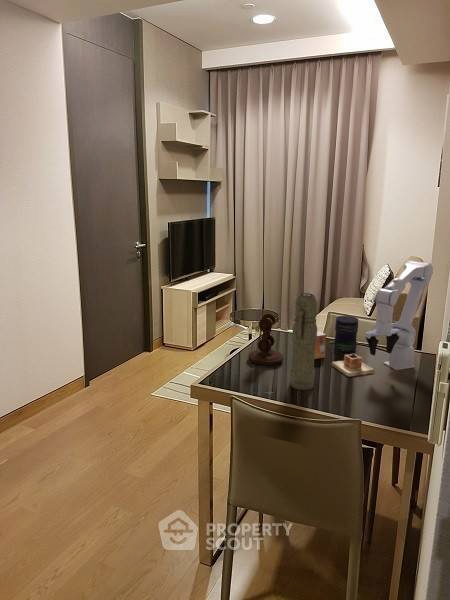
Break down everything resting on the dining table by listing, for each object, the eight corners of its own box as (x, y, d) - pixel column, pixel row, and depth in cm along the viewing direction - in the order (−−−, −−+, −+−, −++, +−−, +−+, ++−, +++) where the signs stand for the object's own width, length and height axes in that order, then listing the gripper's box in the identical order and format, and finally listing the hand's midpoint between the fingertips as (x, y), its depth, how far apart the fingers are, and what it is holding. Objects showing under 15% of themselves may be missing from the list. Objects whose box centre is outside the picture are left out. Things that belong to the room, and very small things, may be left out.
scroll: (252, 353, 207) (253, 309, 202) (285, 356, 203) (287, 312, 198) (244, 365, 193) (245, 319, 188) (279, 369, 189) (281, 322, 184)
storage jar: (358, 354, 206) (361, 322, 202) (336, 354, 206) (338, 322, 202) (352, 346, 216) (355, 315, 212) (331, 346, 216) (333, 315, 212)
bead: (354, 362, 193) (354, 353, 192) (361, 367, 189) (362, 357, 188) (343, 364, 192) (344, 355, 191) (350, 368, 187) (351, 359, 186)
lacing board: (356, 361, 198) (357, 347, 196) (373, 372, 187) (375, 357, 185) (331, 365, 194) (332, 350, 192) (348, 376, 183) (349, 361, 182)
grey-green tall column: (285, 389, 172) (290, 297, 163) (294, 377, 182) (298, 290, 173) (309, 393, 168) (315, 300, 160) (317, 381, 179) (322, 292, 170)
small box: (310, 360, 199) (311, 337, 197) (302, 356, 204) (303, 333, 201) (325, 357, 203) (326, 334, 200) (317, 353, 208) (318, 330, 205)
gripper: (374, 324, 172) (371, 359, 176) (406, 321, 177) (403, 354, 181) (363, 319, 179) (360, 352, 182) (394, 316, 184) (391, 348, 187)
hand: (380, 353), depth 182 cm, fingers open, 7 cm apart
